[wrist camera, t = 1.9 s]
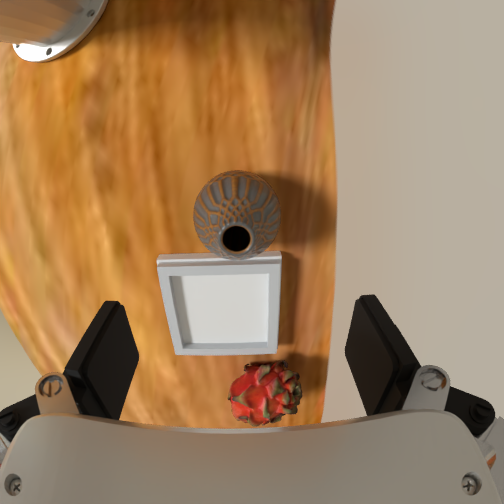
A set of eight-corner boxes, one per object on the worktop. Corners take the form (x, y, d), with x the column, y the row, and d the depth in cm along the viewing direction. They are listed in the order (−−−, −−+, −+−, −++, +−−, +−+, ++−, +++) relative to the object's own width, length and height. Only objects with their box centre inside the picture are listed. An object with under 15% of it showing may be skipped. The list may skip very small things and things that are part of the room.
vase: (205, 240, 28) (192, 290, 20) (195, 169, 25) (174, 193, 17) (277, 233, 28) (291, 281, 20) (272, 161, 25) (288, 182, 17)
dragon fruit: (297, 338, 36) (243, 378, 42) (251, 348, 30) (198, 389, 35) (330, 394, 32) (269, 426, 37) (289, 418, 25) (225, 445, 31)
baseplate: (159, 254, 29) (154, 264, 27) (280, 250, 29) (283, 261, 27) (177, 343, 34) (174, 356, 32) (276, 341, 34) (278, 354, 32)
